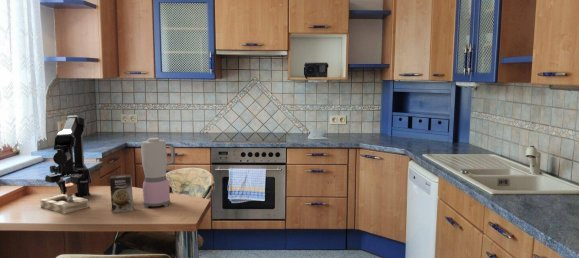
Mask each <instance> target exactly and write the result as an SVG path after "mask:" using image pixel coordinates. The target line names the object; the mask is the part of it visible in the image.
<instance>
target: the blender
mask: <svg viewBox="0 0 579 258" xmlns="http://www.w3.org/2000/svg"><path fill="white" fill-rule="evenodd" d="M139 145H141V147H140V148H141V149H140V151H141V153H140V154H141V164H142V165H141V166H142V168H143V173H144V180H143V183H142V194H143V195H142V197H143V202H142V203H143V205H144V208H145V209H149V207H159V206H163V207H164V208H166V207H168V206H169V203H170V202H171V193H172V192H173V188H172V186H170V181H169V179H168V178H167V167H168V166H172V165H174V164H175V162H176V149H175V146H174V144H172V143H166V140H165V139H160V138H159V137H150V138H147V140H143V141H141V142H139ZM167 148H170V154H171V155H170V159H171V160H170V161H168V157H167V156H168V155H167V154H168V152H167Z"/></svg>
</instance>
